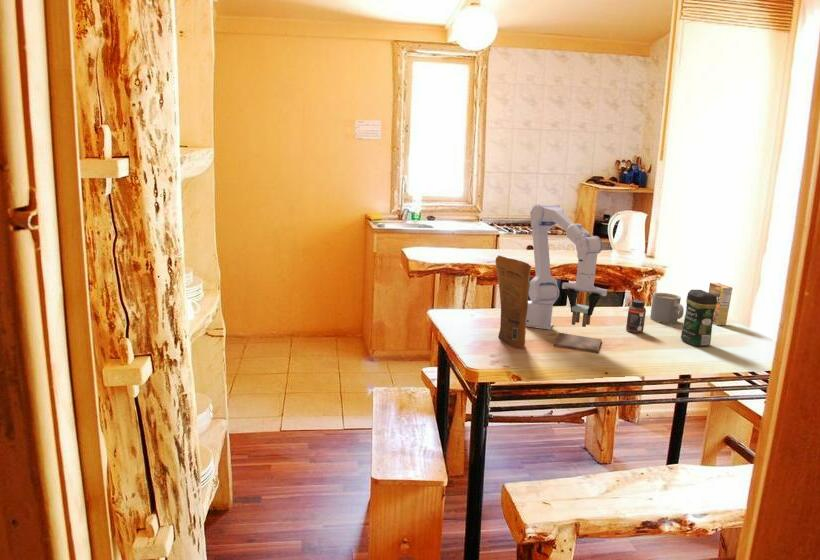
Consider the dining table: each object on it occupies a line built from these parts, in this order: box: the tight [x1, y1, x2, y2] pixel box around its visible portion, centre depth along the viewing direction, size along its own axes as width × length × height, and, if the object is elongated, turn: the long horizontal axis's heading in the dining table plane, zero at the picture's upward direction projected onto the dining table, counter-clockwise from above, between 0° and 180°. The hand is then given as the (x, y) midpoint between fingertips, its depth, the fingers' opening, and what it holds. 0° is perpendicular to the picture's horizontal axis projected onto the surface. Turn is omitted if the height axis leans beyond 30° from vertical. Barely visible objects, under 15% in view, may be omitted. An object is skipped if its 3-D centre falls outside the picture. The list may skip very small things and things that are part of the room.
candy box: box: [707, 282, 733, 326], centre depth 240 cm, size 9×4×15 cm, turn 8°
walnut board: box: [553, 332, 603, 354], centre depth 204 cm, size 14×14×1 cm
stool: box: [570, 303, 592, 328], centre depth 202 cm, size 5×5×6 cm
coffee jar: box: [680, 289, 717, 348], centre depth 210 cm, size 10×8×19 cm
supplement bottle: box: [625, 299, 647, 334], centre depth 222 cm, size 6×6×11 cm
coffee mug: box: [649, 292, 685, 324], centre depth 238 cm, size 13×10×10 cm
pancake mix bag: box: [495, 255, 532, 350], centre depth 199 cm, size 7×19×28 cm, turn 19°
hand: (581, 313), depth 202 cm, fingers closed on stool, 5 cm apart
